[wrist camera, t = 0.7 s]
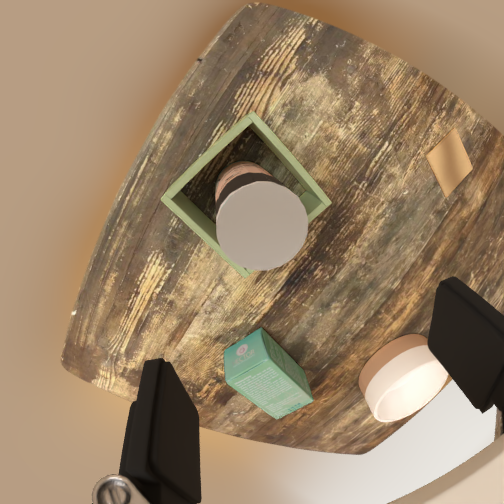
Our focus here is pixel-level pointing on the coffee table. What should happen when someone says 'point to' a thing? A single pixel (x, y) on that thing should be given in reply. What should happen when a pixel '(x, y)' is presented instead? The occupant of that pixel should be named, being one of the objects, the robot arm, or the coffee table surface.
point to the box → (266, 375)
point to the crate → (173, 196)
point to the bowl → (401, 378)
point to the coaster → (449, 162)
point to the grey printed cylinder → (257, 217)
